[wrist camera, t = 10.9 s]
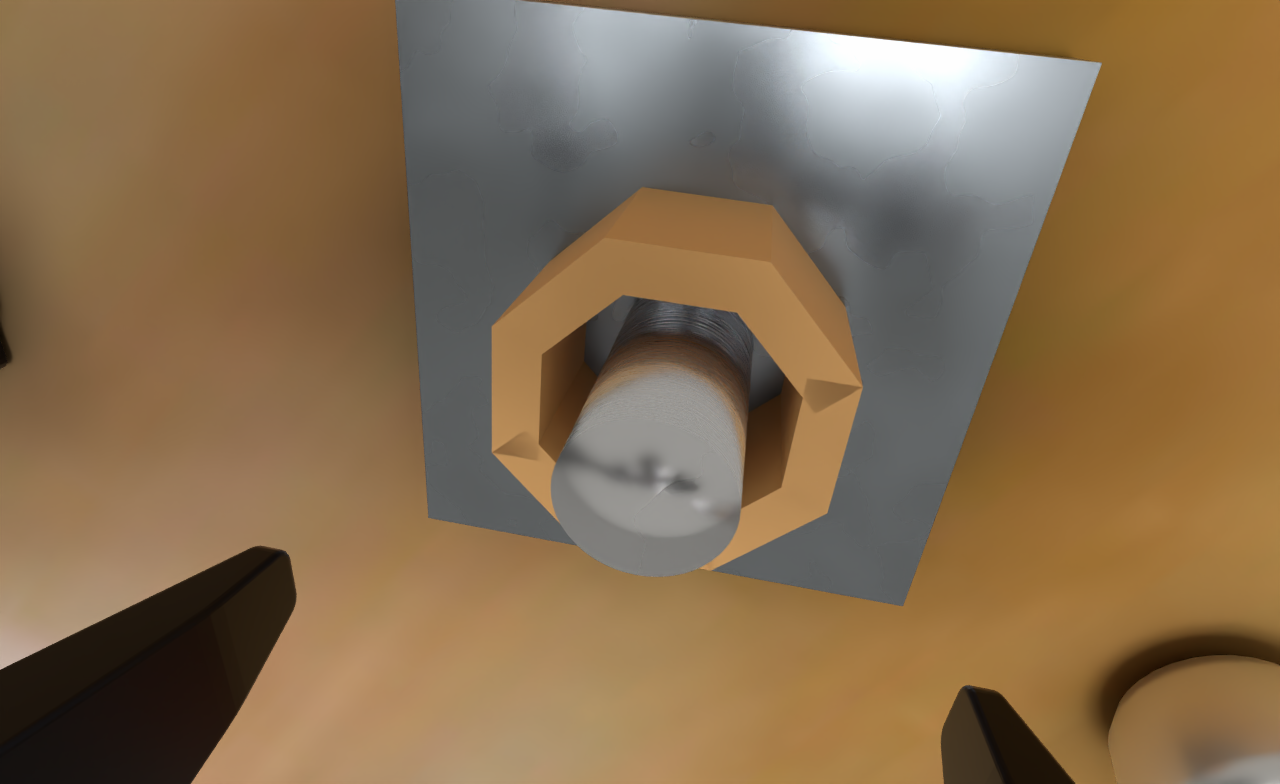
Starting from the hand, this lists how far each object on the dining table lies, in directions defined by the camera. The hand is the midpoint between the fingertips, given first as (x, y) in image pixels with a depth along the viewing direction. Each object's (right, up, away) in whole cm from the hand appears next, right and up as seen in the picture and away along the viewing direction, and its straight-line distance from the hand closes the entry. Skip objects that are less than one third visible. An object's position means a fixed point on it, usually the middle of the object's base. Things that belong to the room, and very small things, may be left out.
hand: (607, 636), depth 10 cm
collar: (+2, +4, +8) cm, 9 cm away
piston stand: (+2, +5, +9) cm, 11 cm away
